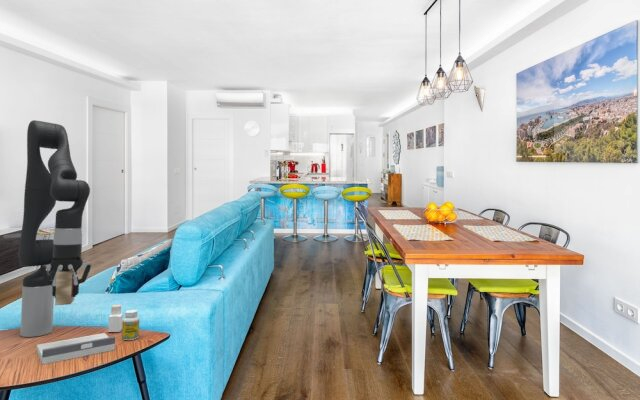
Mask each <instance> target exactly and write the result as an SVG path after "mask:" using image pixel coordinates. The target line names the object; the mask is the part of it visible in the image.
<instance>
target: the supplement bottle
mask: <svg viewBox="0 0 640 400" xmlns="http://www.w3.org/2000/svg"><path fill="white" fill-rule="evenodd" d="M124 316H125V317H123V320H122V330H121V340H122V339H123V341H124V340H132V341H135V340H137V339H136V338H138V339H139V337H140V316H138V310H137V309H127V310H125V312H124ZM134 339H135V340H134Z"/></svg>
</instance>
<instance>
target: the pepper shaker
mask: <svg viewBox="0 0 640 400" xmlns="http://www.w3.org/2000/svg"><path fill="white" fill-rule="evenodd" d="M121 311H122V304H113V305H111V313H110V315H108V327H107V331H108V333H109V332H119V333H120V332H122V321H123V318H124V317H123V315H124V314H123V313H122V312H121Z"/></svg>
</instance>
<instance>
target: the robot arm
mask: <svg viewBox="0 0 640 400" xmlns="http://www.w3.org/2000/svg"><path fill="white" fill-rule="evenodd" d="M68 137H69V136H68V132H67V130H66V128H65V126H63V125H61V124H58V123H53V122H49V121H43V120H31V121H30V122H29V123H28V126H27V130H26V154H27V158H26V161H27V162H26V175H25V184H24V195H23V196H24V197H23V215H22V217H23V219H22V227H21V233H20V238H19V242H18V243H19V244H18V255H17V256H18V262H19V264H20V265H21V267H24V268H27V267H28V268H29V267H39V269H37V270H36V271H35V272H33V273H30V274H28V275H26V276H25V277H23V279H22V292H21V311H20V313H21V314H20V315H21V316H20V330H19V335H20V336H21V337H22V338H23V337H24V338H34V337H41V336H45V335H47V334H48V335H49V334H50V333H52V332H53V324H54V323H53V322H54V305H55V297H56V276H57V272H61V271H73V283H74V285H73V297H74V298H76V296H78V294H79V293H80V291H79V290H80V285H81V284H83V283H85V282H86V281H87V279H88V276H89V273H90V271H91V269H92V266H93V264H92V263H87V262H86V263H85V262H83V260H82V251H83V250H82V246H83V233H82V232H83V231H82V229H83V227H82V226H83V224H82V223H83V215H84V211H85V207H86V204H87V202H88V200H89V196H90V193H91V188H90V185H89V183H88V182H87V181H85V180H81V179H77V178H78V173H77V170H76V168H75V166H74V164H73V161H72V158H71V151H70V142H69V138H68ZM41 148H43V149H50V150H56V151H55V152H54V153H52V155H50V157H49V158H48V161H47V167H46V165H45V163H44V161H43V158H42V155H41ZM57 202H67V203H68V202H70V203H71V202H74V203H73V205H71V207H68V208H62V209H59V210H56V213H55V220H54V221H55V222H54V223H55V225H54V233H53V238H51V239H50V238H48V239H47V238H46V239H37V236H38V233H39V229H40V226H41V224H42V223H43V222H44V221H45V219H47V217H48V215H50V213H51V212H52V210H53V209H54V207H55V206H56V203H57ZM81 267H82V270H83V273H82V276H81V278H79V274H78V270H79V269H80V268H81Z"/></svg>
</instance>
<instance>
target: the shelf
mask: <svg viewBox="0 0 640 400" xmlns="http://www.w3.org/2000/svg"><path fill="white" fill-rule="evenodd" d="M115 348H116V337H115V336H108V335H107V334H106V332H102V333H97V334H91V335H85V336H84V335H83V336H80V337H74V338H68V339H63V340H58V341H52V342H45V343H40V344H36V352H37V355H38V358H39V360H40V362H41V365H47V364H52V363H57V362H62V361H67V360H71V359H72V360H73V359H78V358H82V357H85V356H87V357H88V356H92V355H96V354H100V353H101V354H102V353H105V352H110V351H115V350H116V349H115Z"/></svg>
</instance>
